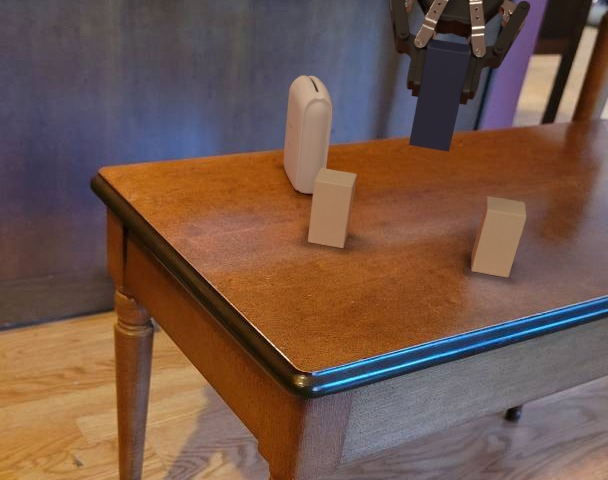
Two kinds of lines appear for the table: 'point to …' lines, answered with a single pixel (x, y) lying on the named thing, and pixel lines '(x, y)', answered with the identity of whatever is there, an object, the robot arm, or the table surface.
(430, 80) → the navy block
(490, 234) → the post
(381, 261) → the table surface
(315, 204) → the post
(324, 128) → the photo printer
